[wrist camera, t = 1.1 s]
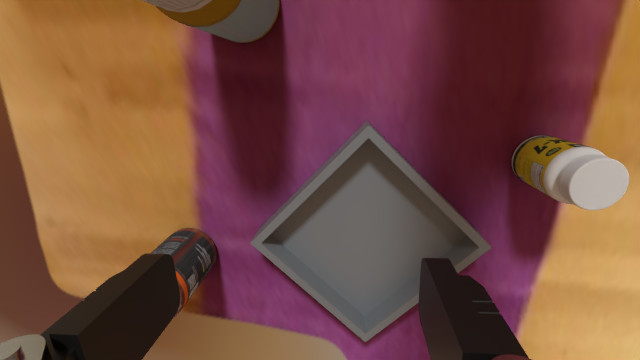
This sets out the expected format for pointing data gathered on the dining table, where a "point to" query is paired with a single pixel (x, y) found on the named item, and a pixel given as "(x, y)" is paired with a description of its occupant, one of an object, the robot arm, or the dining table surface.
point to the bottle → (224, 16)
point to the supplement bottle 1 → (189, 259)
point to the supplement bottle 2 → (570, 172)
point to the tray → (366, 233)
